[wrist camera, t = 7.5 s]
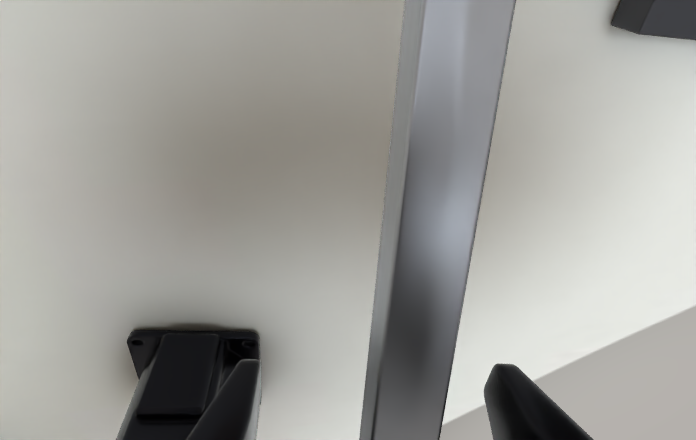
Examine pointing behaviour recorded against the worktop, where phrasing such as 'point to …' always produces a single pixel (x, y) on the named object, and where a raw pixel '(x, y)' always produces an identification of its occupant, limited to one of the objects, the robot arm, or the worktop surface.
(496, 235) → the worktop surface
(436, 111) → the lever
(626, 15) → the control block
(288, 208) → the worktop surface
